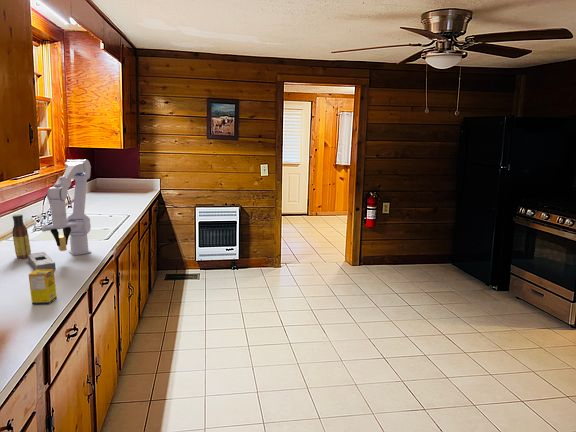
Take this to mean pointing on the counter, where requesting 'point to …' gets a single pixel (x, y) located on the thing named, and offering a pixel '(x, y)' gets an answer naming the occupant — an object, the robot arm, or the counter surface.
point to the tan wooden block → (62, 243)
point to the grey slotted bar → (41, 261)
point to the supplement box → (42, 286)
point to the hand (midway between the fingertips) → (62, 245)
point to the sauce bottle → (20, 237)
